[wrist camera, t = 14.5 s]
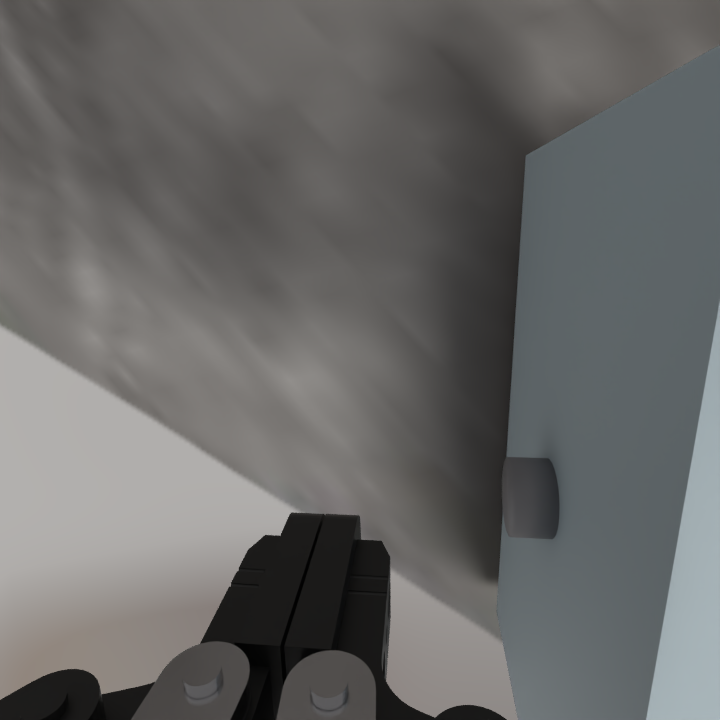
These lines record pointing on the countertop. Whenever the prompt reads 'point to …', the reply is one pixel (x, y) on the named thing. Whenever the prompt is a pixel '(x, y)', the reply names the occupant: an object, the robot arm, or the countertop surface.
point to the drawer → (618, 415)
